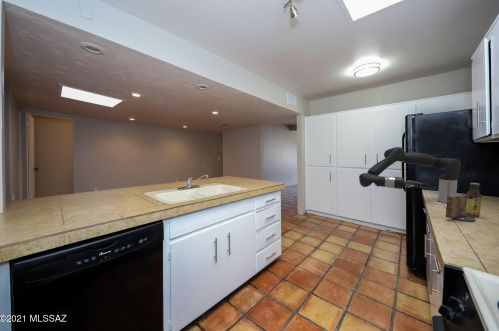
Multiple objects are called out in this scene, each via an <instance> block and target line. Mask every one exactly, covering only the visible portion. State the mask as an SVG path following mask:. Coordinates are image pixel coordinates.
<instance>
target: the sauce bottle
mask: <svg viewBox="0 0 499 331" xmlns="http://www.w3.org/2000/svg"><path fill="white" fill-rule="evenodd" d="M480 187H481V183H477V182H470V183H469V190H468V191H467V192H466V193H465V195H467V203H466V214H467V215H468V216H471V217H474V218H479V217H480V215H481V209H482V195H481V193H480Z"/></svg>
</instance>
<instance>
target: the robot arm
mask: <svg viewBox="0 0 499 331" xmlns="http://www.w3.org/2000/svg"><path fill="white" fill-rule="evenodd" d="M383 157H384V158H383V159H382V160H380V161H378V162H377V163H375V164H374V165H372V166H371V167H370V168H369V169H368V170H367V172H364V173H360V174H359V175H358V180H359V184H360V186H361V187H363V188H368V187H370V186H371V185H372V184H374V186H376V187H381V188H382V187H383V188H389V189H398V190H403V189H404V187H406V188H410V189H411V188H414V189H415V188H416V189H417V188H429V189H430V188H431V183H426V182H425V183H424V182H423V183H422V182H421V181H416V180H409V179H407V180H404V177H402V176H401V177H400V176H379V175H381V174H382V173H383V172H384V171H385V170H386V169H387V168H389V167H390V166H392V165H393V164H395V163H396V162H402V163H406V164H412V165H416V166H421V167H432V168H436V169H439V170H442V171H446V172H445V173H444V174H441V175H439V182H438V195H437V197H438V198H437V201H438V202H439V201H440V203H444V204H447V196H456V195H457V190H458V179H459V176H460V172H461V166H462V165H461V161H460V159H457V158H450V157H435V156H432V155H431V154H428V153H422V152H405V149H404V148H402V147H400V146H396V147H392V148H389V149H387V150H385V151H384V152H383Z"/></svg>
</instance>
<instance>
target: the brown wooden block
mask: <svg viewBox="0 0 499 331" xmlns="http://www.w3.org/2000/svg"><path fill="white" fill-rule="evenodd" d="M466 203H467V195H466V194H456V196H447V203H446V204H445V205H446V207H445V217H446V218H447V219H451V218H454V217H460V216H462V217H467V214H466Z"/></svg>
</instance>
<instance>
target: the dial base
mask: <svg viewBox="0 0 499 331" xmlns="http://www.w3.org/2000/svg"><path fill="white" fill-rule="evenodd" d="M450 219H452V220H455V221H460V222H464V223H465V222H466V223H475V222H476V217H471V216H468V215H467V217H462V216H460V217H454V218H450Z"/></svg>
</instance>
